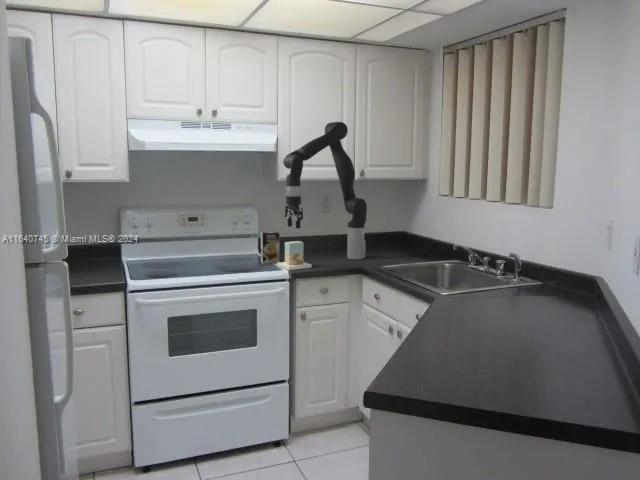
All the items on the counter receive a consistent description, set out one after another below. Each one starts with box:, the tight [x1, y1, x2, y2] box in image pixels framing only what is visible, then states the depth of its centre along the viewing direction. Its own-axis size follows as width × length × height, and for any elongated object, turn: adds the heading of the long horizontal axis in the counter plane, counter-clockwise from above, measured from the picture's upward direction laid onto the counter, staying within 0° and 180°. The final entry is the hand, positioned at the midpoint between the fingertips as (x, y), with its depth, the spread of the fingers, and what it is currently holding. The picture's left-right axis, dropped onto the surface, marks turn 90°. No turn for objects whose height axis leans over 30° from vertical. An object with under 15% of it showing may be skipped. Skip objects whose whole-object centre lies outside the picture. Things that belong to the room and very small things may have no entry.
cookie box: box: [260, 231, 280, 265], centre depth 278 cm, size 9×6×16 cm
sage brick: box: [284, 240, 304, 254], centre depth 268 cm, size 8×5×6 cm, turn 122°
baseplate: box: [276, 261, 313, 271], centre depth 269 cm, size 13×13×2 cm
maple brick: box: [284, 252, 304, 265], centre depth 268 cm, size 8×5×6 cm, turn 122°
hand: (293, 227), depth 266 cm, fingers open, 8 cm apart
